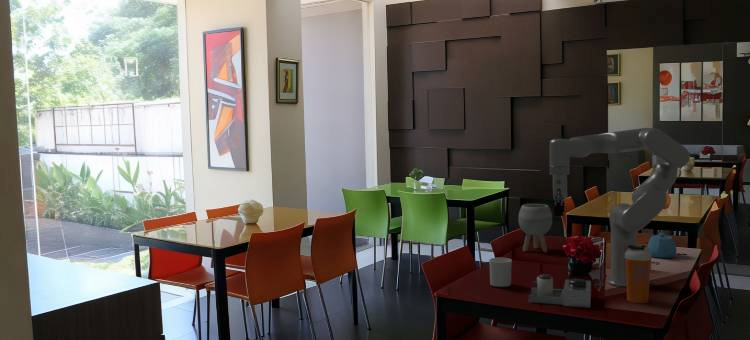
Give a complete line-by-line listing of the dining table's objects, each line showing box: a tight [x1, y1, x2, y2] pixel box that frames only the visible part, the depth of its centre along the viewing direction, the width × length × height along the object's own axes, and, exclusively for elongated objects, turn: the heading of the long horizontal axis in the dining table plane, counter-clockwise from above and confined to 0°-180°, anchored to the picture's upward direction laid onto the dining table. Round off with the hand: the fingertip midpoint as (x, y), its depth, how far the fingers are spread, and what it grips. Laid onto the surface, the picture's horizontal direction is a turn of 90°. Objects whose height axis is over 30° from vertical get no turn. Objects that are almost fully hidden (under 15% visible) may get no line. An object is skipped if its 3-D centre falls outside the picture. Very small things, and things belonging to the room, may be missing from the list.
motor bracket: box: [528, 278, 592, 309], centre depth 240 cm, size 21×17×8 cm
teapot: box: [646, 232, 678, 259], centre depth 303 cm, size 13×11×18 cm
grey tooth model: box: [517, 203, 553, 253], centre depth 322 cm, size 16×16×22 cm
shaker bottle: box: [625, 244, 652, 304], centre depth 235 cm, size 9×9×20 cm
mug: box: [488, 257, 513, 289], centre depth 261 cm, size 11×9×10 cm
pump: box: [532, 273, 554, 296], centre depth 241 cm, size 7×6×9 cm
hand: (559, 213), depth 258 cm, fingers open, 9 cm apart
